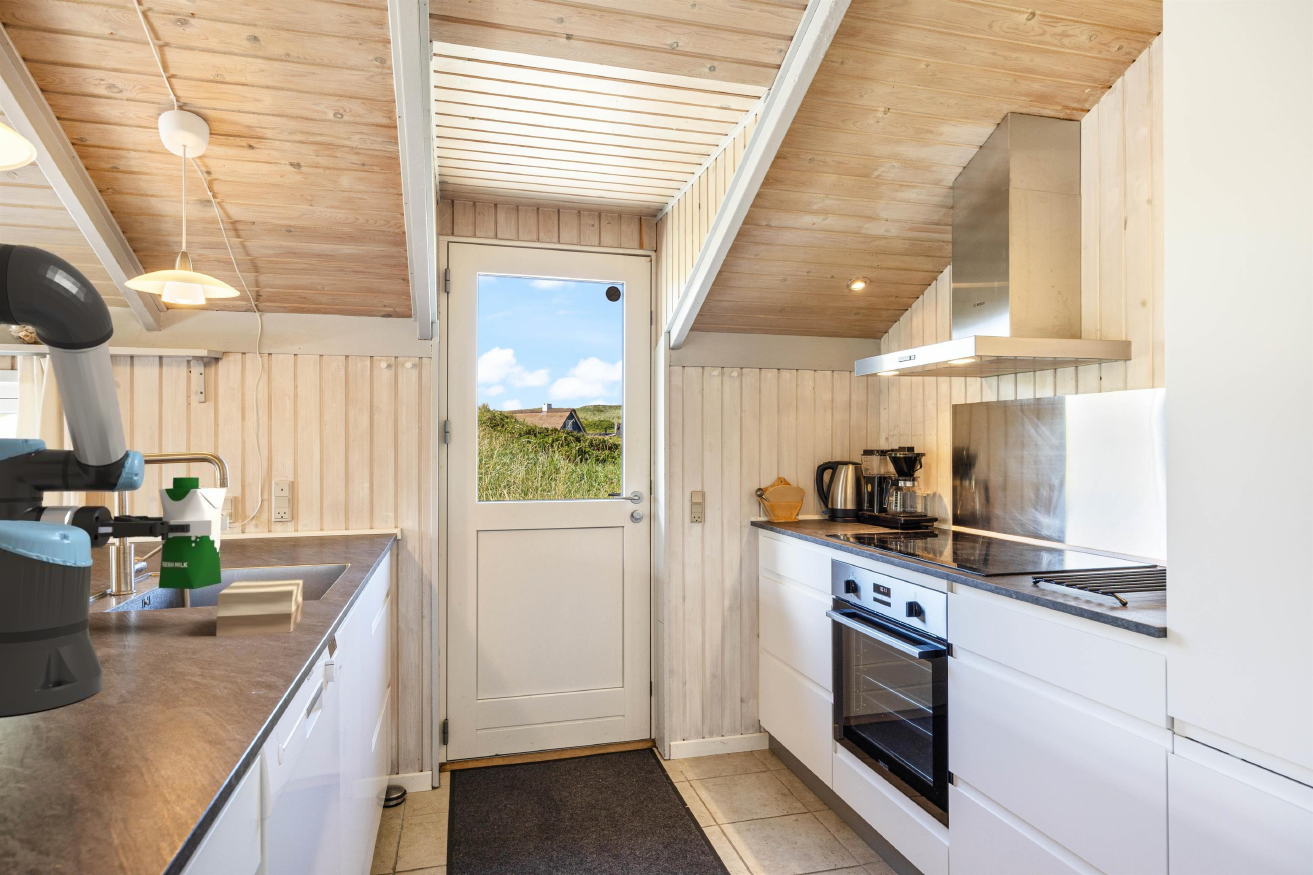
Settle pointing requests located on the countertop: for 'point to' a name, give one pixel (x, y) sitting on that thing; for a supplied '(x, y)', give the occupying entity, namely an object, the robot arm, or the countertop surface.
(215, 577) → the fresh milk carton
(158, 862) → the countertop surface
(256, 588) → the block upper
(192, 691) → the countertop surface
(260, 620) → the block lower
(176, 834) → the countertop surface
